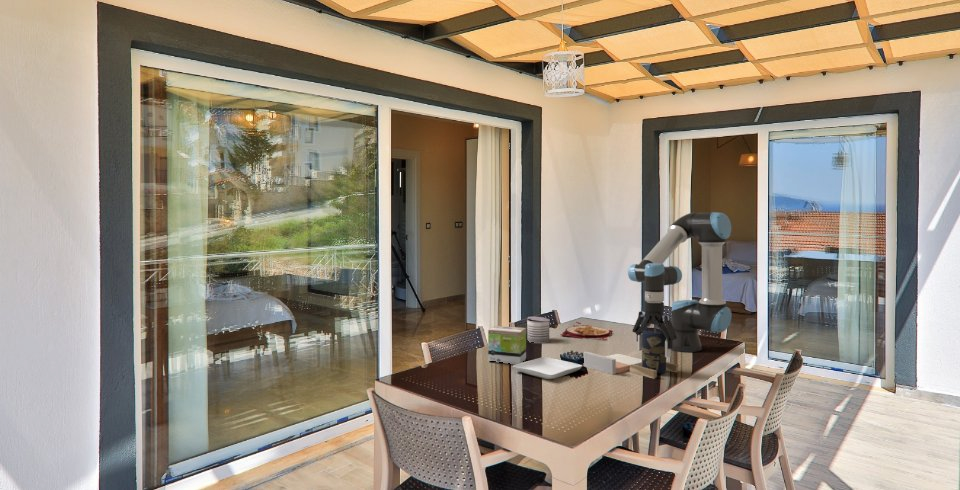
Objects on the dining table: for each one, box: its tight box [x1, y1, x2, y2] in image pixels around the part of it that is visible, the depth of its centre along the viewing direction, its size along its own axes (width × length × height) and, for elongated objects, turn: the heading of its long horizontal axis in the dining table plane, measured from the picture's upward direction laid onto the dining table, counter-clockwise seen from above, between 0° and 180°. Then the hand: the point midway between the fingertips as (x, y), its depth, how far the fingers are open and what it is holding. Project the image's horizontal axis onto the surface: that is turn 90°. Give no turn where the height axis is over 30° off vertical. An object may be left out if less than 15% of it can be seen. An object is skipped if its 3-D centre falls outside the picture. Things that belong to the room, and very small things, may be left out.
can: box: [526, 316, 550, 344], centre depth 293 cm, size 11×11×12 cm
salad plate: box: [512, 356, 583, 380], centre depth 236 cm, size 21×21×3 cm
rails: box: [629, 361, 679, 380], centre depth 234 cm, size 16×12×3 cm
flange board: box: [582, 351, 642, 375], centre depth 244 cm, size 22×16×6 cm
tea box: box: [487, 325, 527, 365], centre depth 254 cm, size 15×10×15 cm, turn 70°
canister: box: [641, 328, 667, 375], centre depth 234 cm, size 10×10×18 cm
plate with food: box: [559, 321, 614, 341], centre depth 309 cm, size 25×26×4 cm
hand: (653, 353), depth 234 cm, fingers open, 13 cm apart
